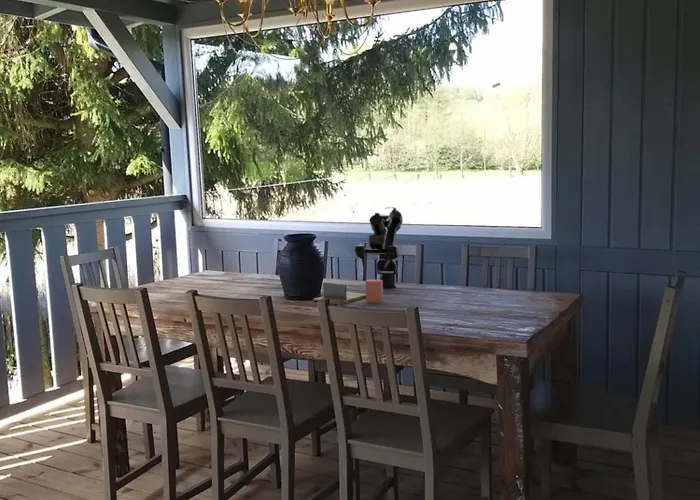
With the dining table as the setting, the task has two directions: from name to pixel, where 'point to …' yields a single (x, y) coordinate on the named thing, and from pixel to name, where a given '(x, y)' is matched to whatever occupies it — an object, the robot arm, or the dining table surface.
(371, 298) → the salmon pink block
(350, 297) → the shelf board
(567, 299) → the dining table surface
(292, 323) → the dining table surface
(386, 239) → the robot arm
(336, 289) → the bookend
